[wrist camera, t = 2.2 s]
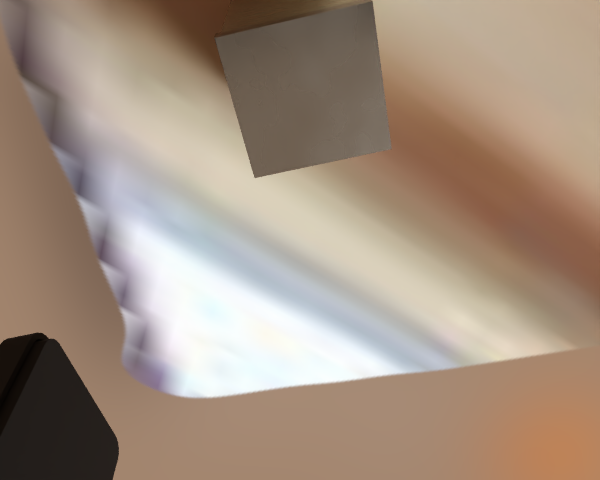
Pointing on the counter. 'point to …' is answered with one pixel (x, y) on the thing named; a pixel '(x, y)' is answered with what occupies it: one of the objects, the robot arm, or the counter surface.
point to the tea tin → (304, 81)
